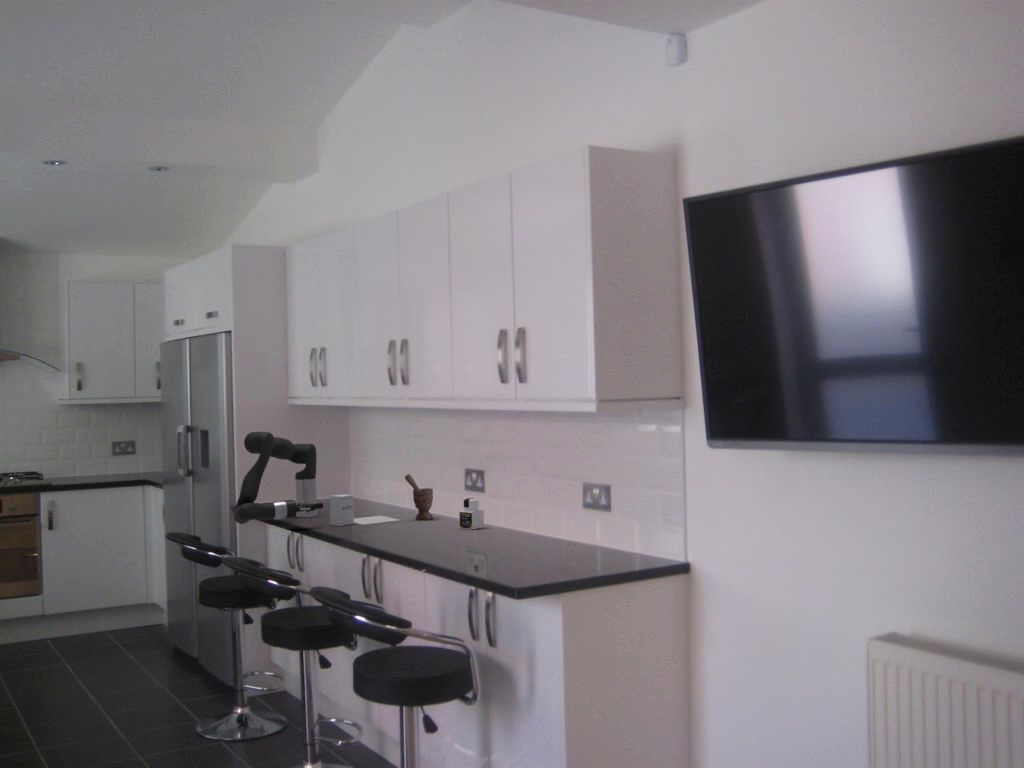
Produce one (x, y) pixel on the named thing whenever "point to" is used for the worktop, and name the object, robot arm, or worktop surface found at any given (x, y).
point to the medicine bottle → (471, 515)
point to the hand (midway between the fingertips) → (322, 505)
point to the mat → (374, 520)
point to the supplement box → (341, 510)
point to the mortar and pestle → (421, 499)
